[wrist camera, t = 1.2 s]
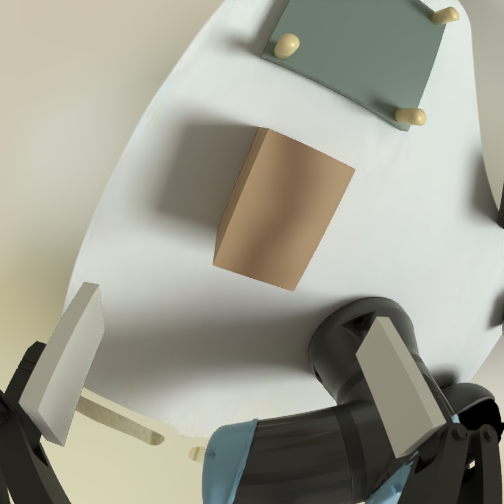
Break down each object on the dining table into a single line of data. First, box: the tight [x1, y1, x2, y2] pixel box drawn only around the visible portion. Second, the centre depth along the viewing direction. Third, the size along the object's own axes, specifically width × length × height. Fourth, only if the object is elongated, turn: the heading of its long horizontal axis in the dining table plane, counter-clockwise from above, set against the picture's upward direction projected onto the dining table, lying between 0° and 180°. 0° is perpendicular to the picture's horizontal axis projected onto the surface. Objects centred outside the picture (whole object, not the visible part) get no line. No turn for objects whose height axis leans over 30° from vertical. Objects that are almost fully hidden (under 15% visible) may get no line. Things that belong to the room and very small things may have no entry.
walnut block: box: [213, 127, 355, 291], centre depth 25 cm, size 7×11×8 cm, turn 158°
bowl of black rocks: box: [441, 383, 504, 444], centre depth 40 cm, size 20×20×19 cm
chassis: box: [261, 0, 459, 131], centre depth 19 cm, size 16×16×5 cm
